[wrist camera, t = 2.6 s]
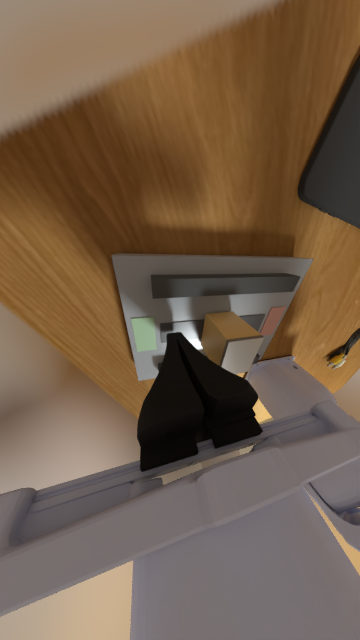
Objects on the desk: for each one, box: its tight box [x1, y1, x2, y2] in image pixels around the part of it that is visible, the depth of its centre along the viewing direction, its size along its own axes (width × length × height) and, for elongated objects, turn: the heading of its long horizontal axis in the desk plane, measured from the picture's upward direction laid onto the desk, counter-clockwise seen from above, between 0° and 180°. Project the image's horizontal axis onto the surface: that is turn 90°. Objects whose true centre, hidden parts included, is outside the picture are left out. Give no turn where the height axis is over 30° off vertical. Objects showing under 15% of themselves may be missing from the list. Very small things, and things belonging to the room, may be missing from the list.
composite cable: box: [327, 329, 360, 369], centre depth 28 cm, size 10×5×2 cm, turn 161°
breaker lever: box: [201, 311, 265, 374], centre depth 12 cm, size 3×4×4 cm
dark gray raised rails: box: [151, 273, 301, 371], centre depth 14 cm, size 13×11×1 cm
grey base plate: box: [111, 253, 313, 381], centre depth 15 cm, size 18×14×2 cm
